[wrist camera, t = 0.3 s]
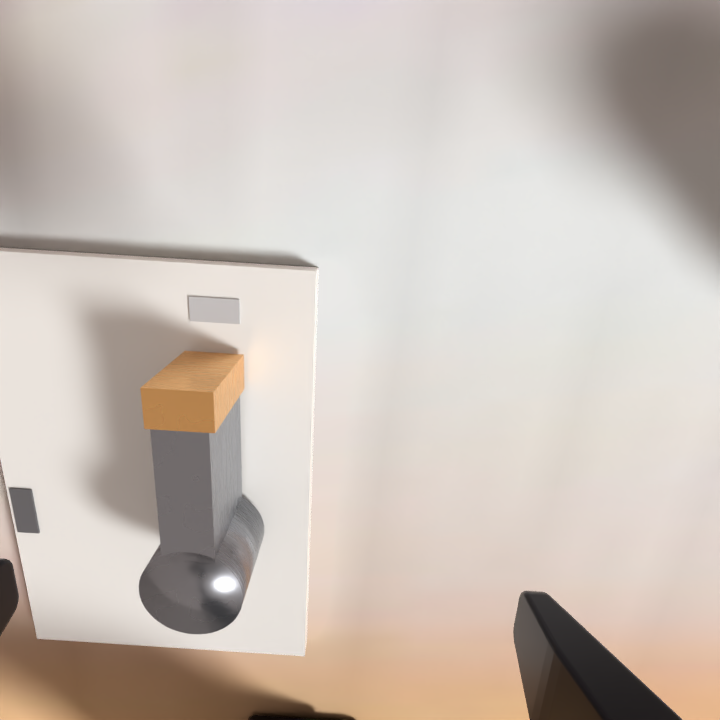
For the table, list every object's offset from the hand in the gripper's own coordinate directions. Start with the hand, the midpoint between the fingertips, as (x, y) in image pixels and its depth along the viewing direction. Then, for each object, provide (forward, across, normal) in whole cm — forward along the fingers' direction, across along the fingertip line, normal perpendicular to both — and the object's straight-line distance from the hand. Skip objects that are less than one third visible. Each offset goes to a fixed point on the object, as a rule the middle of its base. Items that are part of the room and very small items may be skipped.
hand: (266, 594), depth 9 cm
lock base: (+13, +8, +6) cm, 16 cm away
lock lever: (+12, +5, +5) cm, 14 cm away
